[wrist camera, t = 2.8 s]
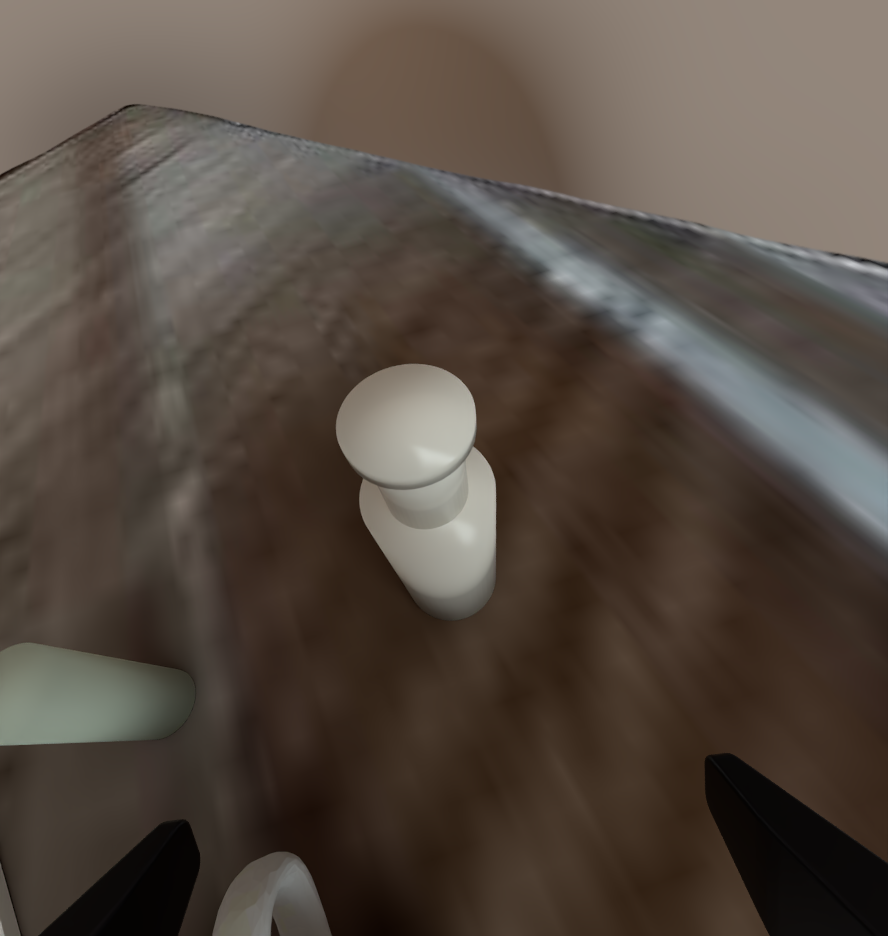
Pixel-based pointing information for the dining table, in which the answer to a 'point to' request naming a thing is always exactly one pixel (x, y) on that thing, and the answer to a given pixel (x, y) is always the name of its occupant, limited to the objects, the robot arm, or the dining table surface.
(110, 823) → the dining table surface
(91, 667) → the post
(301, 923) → the teacup
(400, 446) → the vase
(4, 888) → the mat
